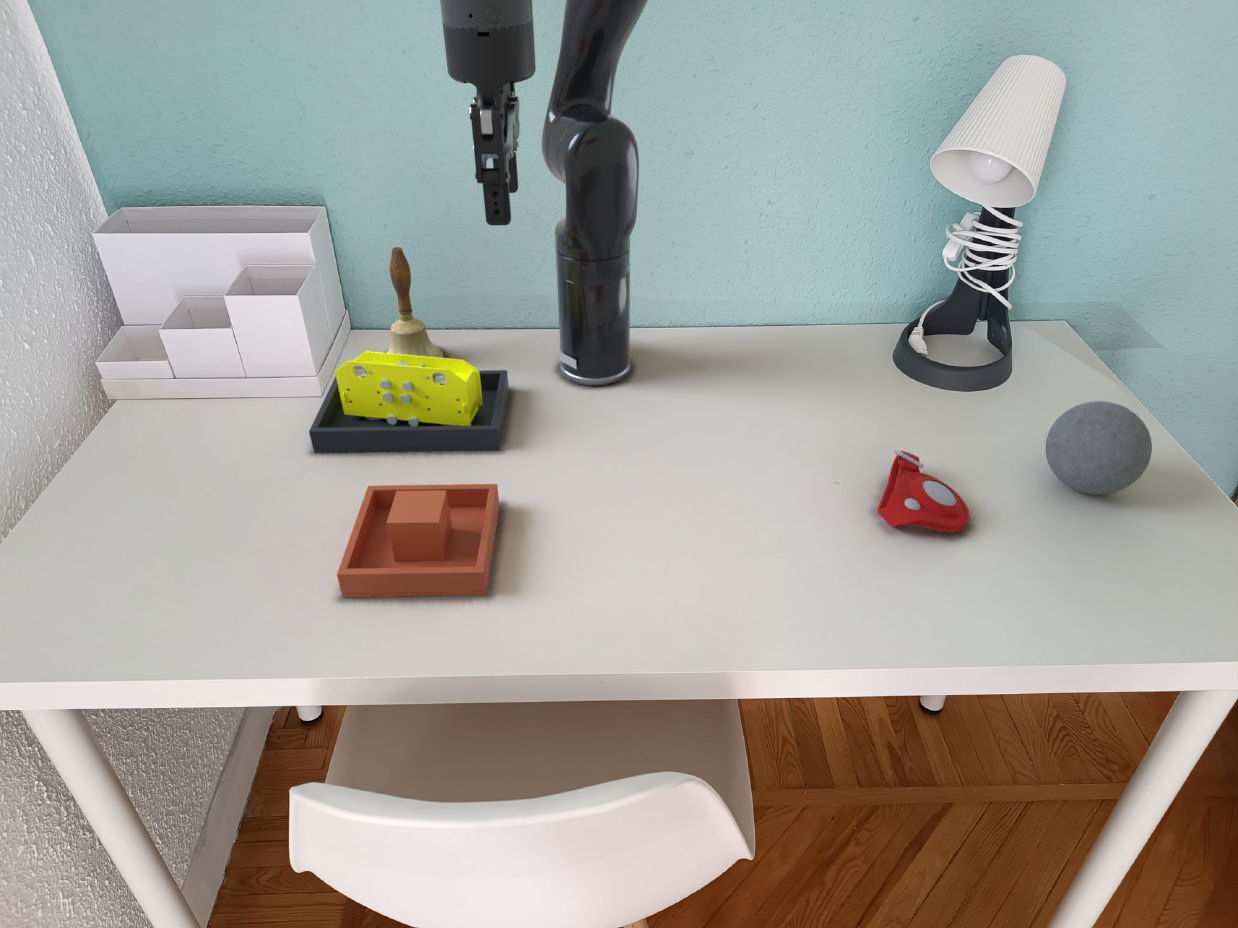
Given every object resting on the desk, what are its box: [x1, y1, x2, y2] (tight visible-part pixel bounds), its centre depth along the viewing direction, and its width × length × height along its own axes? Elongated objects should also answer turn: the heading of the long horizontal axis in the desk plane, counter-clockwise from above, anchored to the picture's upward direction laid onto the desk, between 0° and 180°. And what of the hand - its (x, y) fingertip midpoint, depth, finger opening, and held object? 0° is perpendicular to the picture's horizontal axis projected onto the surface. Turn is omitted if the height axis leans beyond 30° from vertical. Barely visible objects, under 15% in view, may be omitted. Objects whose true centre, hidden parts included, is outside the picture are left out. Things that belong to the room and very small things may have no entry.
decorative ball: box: [1045, 400, 1153, 496], centre depth 93 cm, size 10×10×10 cm
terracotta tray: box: [336, 483, 501, 598], centre depth 87 cm, size 14×14×3 cm
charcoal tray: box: [308, 369, 510, 454], centre depth 107 cm, size 14×22×3 cm, turn 91°
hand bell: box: [386, 246, 445, 358], centre depth 115 cm, size 8×8×16 cm
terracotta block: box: [387, 490, 452, 562], centre depth 86 cm, size 5×5×5 cm
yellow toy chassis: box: [334, 350, 483, 427], centre depth 105 cm, size 16×6×8 cm, turn 80°
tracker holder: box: [876, 449, 970, 533], centre depth 92 cm, size 12×4×10 cm
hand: (503, 207), depth 82 cm, fingers open, 8 cm apart
